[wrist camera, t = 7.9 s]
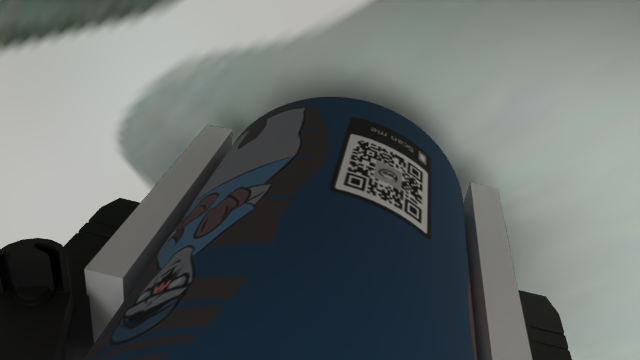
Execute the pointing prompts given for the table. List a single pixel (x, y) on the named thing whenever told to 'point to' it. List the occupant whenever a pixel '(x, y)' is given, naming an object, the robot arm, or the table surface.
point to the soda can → (311, 249)
